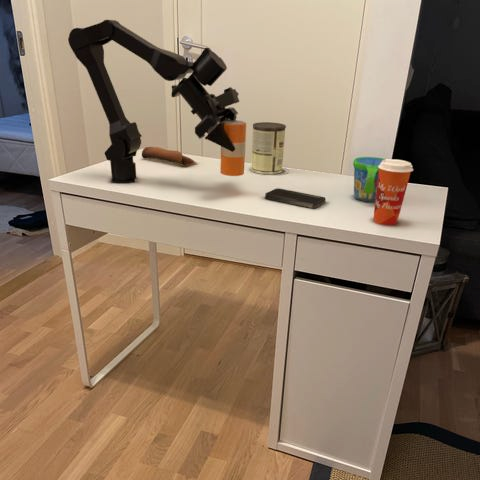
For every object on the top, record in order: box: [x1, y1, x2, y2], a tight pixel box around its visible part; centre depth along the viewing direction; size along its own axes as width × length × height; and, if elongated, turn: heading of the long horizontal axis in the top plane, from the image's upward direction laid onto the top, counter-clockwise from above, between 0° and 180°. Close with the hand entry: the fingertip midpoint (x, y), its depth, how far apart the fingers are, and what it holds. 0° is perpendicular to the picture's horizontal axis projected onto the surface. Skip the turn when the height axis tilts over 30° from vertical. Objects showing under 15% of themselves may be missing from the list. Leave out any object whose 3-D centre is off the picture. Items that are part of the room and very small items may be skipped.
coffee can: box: [250, 121, 287, 175], centre depth 155 cm, size 10×10×14 cm
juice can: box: [219, 119, 247, 177], centre depth 128 cm, size 6×6×13 cm
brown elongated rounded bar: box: [141, 146, 197, 168], centre depth 164 cm, size 18×7×7 cm, turn 57°
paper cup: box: [372, 158, 414, 226], centre depth 114 cm, size 8×8×14 cm
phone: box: [264, 188, 326, 209], centre depth 130 cm, size 8×1×15 cm
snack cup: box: [352, 156, 387, 203], centre depth 132 cm, size 16×10×10 cm
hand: (238, 148), depth 128 cm, fingers closed on juice can, 6 cm apart
